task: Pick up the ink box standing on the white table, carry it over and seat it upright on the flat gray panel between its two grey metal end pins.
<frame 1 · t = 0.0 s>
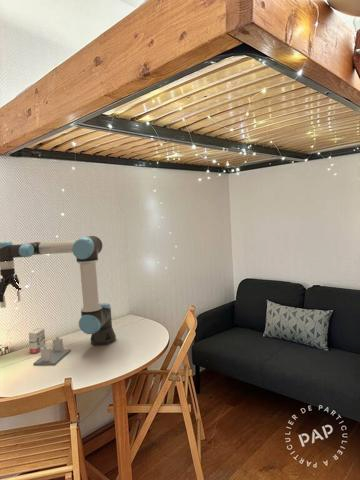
hand: (10, 304, 193), 28 cm above the table, fingers open, 13 cm apart
ink box: (38, 350, 194), on the table
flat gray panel: (52, 358, 181), on the table
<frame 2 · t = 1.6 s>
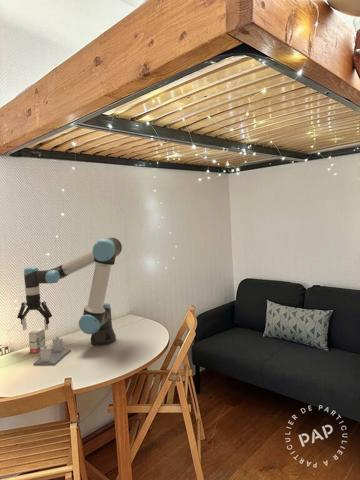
hand: (35, 329, 193), 12 cm above the table, fingers open, 13 cm apart
nothing on the table moved.
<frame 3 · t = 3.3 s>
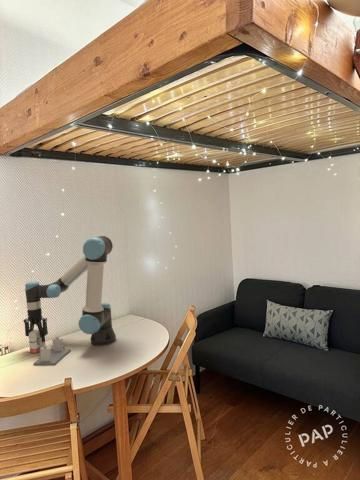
hand: (37, 347, 193), 2 cm above the table, fingers closed on ink box, 5 cm apart
ink box: (38, 350, 194), on the table, touching gripper
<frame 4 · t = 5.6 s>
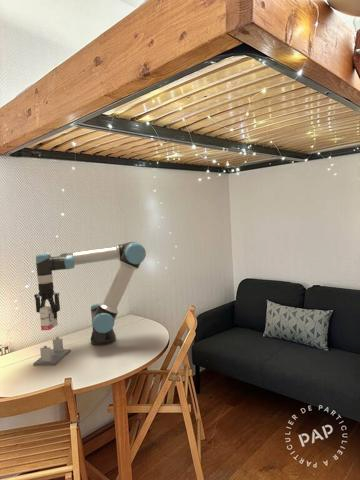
hand: (49, 324, 180), 19 cm above the table, fingers closed on ink box, 5 cm apart
ink box: (50, 328, 180), point 17 cm above the table, touching gripper
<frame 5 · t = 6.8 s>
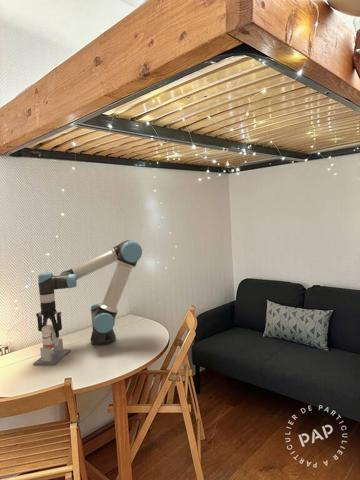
hand: (51, 343, 180), 8 cm above the table, fingers closed on ink box, 5 cm apart
ink box: (51, 346, 180), point 6 cm above the table, touching gripper
when the fingers open (5 cm above the table, at t = 7.9 s): ink box drops 1 cm, resting on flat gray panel.
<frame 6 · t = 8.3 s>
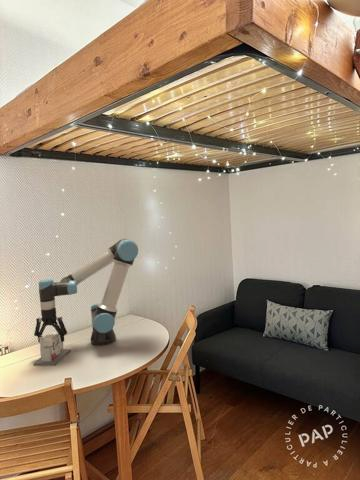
hand: (52, 347, 180), 6 cm above the table, fingers open, 10 cm apart
ink box: (53, 356, 181), point 1 cm above the table, touching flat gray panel
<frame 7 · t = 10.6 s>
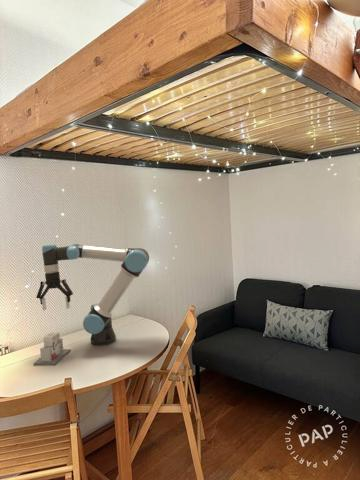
hand: (56, 308, 187), 25 cm above the table, fingers open, 13 cm apart
nothing on the table moved.
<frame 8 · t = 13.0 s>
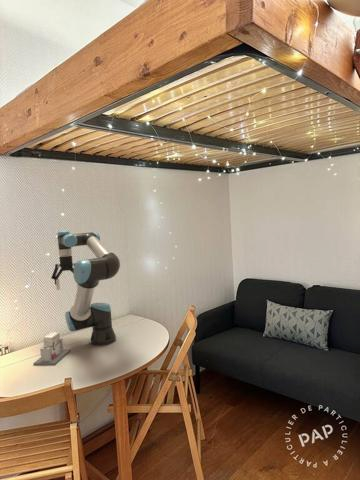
hand: (68, 289, 208), 32 cm above the table, fingers open, 13 cm apart
nothing on the table moved.
at the end: ink box 0.3 cm off-centre on the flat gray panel, point 1.0 cm above the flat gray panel's base; ink box tilted 0°; the gripper is holding nothing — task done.
